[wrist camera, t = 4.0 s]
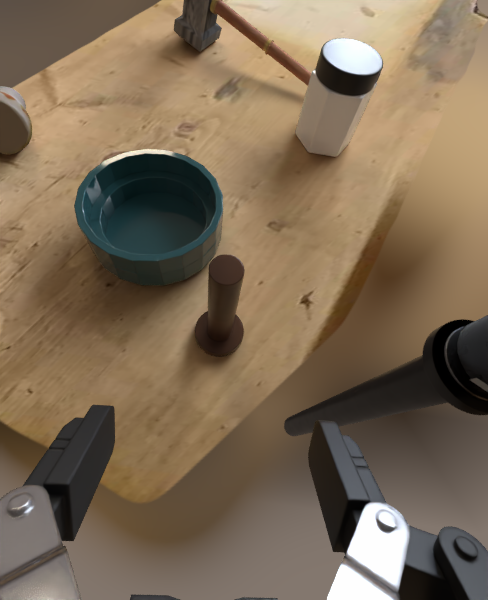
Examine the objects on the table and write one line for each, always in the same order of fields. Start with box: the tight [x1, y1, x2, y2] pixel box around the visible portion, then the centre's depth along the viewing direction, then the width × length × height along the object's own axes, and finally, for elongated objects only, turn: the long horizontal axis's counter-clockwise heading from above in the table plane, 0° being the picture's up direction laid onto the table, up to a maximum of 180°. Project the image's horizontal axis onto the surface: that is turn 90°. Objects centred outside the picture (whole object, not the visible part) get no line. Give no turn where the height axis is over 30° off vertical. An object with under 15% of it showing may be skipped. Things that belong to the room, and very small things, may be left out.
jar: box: [295, 38, 383, 157], centre depth 47 cm, size 9×8×12 cm
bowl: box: [74, 149, 223, 285], centre depth 38 cm, size 16×16×6 cm
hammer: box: [174, 0, 311, 85], centre depth 53 cm, size 6×16×30 cm
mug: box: [0, 87, 32, 154], centre depth 43 cm, size 8×10×10 cm
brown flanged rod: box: [195, 255, 244, 357], centre depth 30 cm, size 5×5×14 cm
